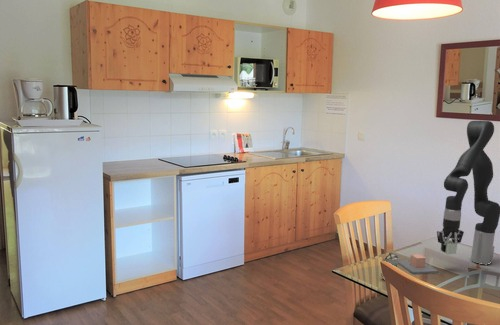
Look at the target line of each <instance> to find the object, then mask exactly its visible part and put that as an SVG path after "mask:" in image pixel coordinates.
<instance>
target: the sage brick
mask: <svg viewBox="0 0 500 325" xmlns="http://www.w3.org/2000/svg"><path fill="white" fill-rule="evenodd" d="M457 248H458V243H454V242H452V240H450V239H449V241H447V243H446V252H443V251H442V250H441V249H440V252H442V253H444V254H445V255H456V254H457Z"/></svg>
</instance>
